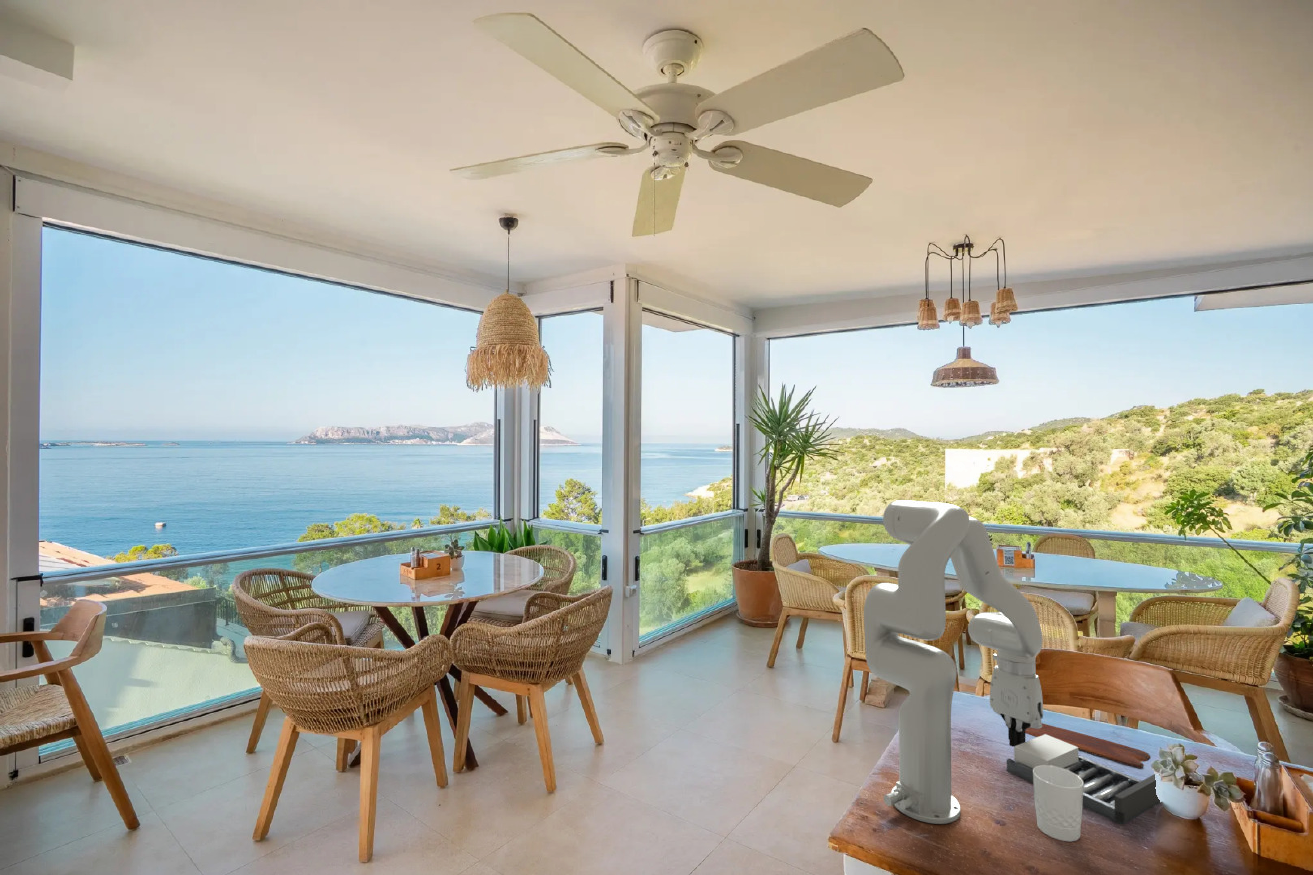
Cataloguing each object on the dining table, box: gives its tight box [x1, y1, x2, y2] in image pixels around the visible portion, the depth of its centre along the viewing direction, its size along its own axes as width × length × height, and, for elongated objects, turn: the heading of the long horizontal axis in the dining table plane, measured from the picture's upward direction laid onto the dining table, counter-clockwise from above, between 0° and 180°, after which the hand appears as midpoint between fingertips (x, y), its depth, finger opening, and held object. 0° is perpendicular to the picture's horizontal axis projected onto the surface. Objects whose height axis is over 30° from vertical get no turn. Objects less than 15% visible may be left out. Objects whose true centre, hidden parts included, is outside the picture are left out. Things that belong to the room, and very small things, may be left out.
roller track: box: [1006, 754, 1161, 826], centre depth 128 cm, size 16×22×5 cm
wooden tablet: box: [1025, 722, 1151, 769], centre depth 147 cm, size 27×10×2 cm, turn 42°
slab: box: [1013, 734, 1079, 768], centre depth 134 cm, size 12×7×3 cm, turn 119°
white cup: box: [1032, 765, 1084, 842], centre depth 113 cm, size 8×8×10 cm
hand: (1016, 745), depth 140 cm, fingers closed
